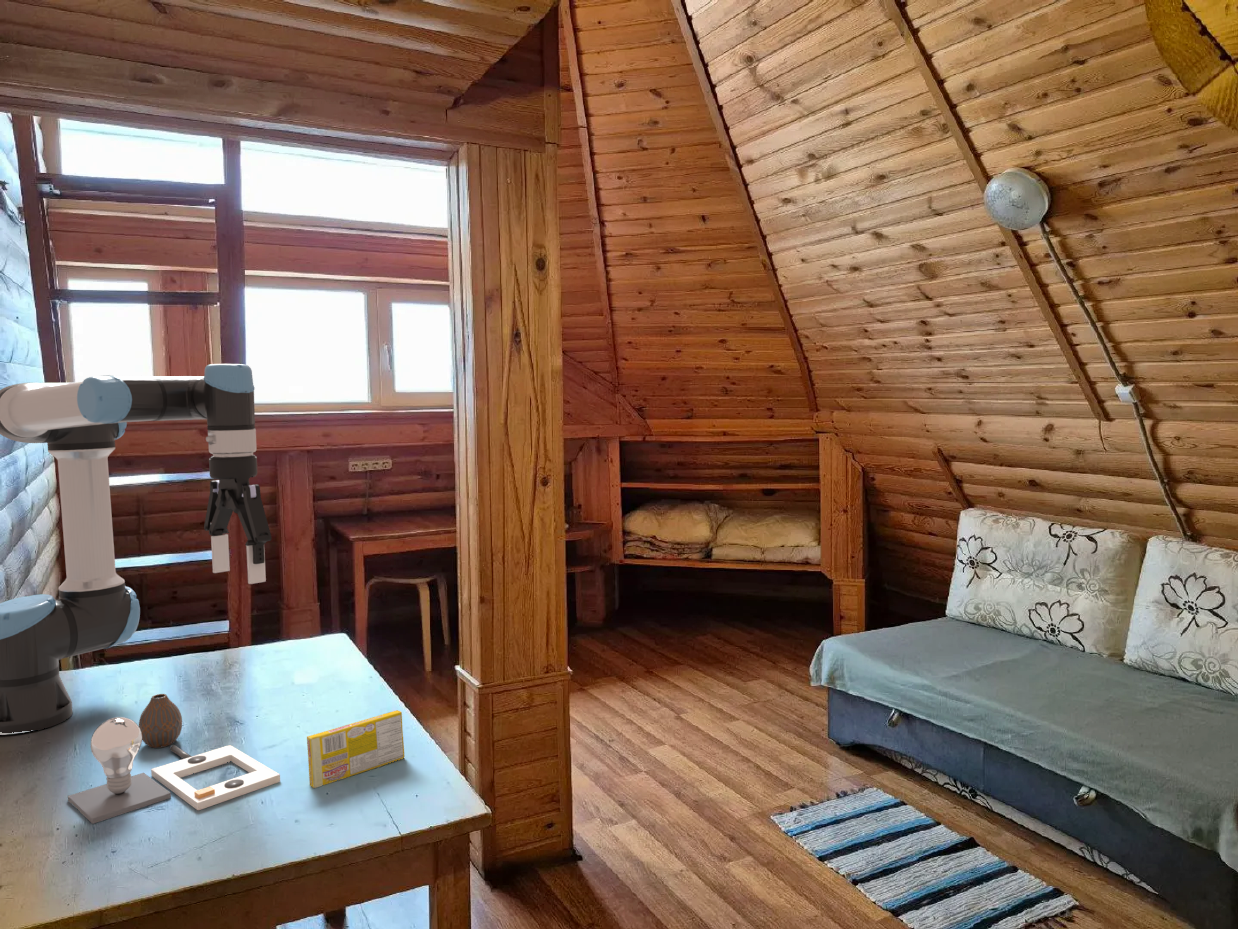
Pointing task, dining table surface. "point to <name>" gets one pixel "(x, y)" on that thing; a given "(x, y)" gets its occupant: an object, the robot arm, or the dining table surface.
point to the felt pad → (118, 799)
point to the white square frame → (218, 792)
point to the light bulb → (117, 751)
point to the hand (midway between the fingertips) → (238, 577)
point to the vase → (160, 722)
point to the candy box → (355, 748)
